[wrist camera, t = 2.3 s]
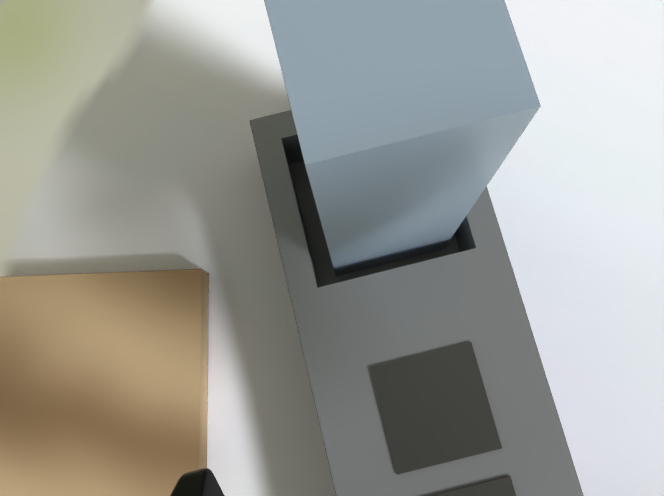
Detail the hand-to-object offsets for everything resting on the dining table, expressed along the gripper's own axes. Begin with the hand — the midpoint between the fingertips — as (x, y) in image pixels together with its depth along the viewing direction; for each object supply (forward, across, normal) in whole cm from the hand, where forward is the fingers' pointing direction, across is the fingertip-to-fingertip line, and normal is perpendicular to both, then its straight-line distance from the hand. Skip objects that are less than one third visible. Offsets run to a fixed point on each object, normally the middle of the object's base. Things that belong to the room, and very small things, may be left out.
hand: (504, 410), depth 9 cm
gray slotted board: (+10, 0, +8) cm, 12 cm away
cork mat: (+10, +13, +8) cm, 18 cm away
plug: (+13, 0, +4) cm, 14 cm away
